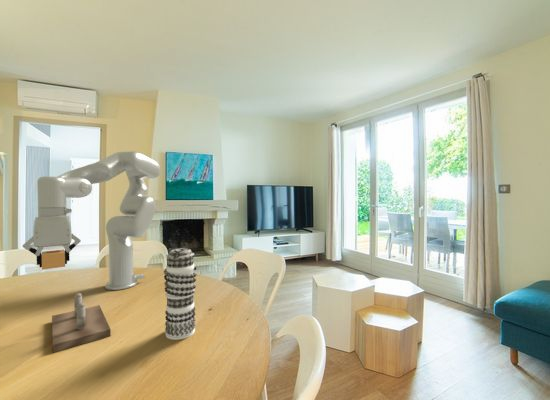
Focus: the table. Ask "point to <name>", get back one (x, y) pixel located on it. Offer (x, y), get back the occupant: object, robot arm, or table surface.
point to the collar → (53, 259)
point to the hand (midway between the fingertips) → (53, 264)
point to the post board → (78, 326)
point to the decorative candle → (180, 294)
